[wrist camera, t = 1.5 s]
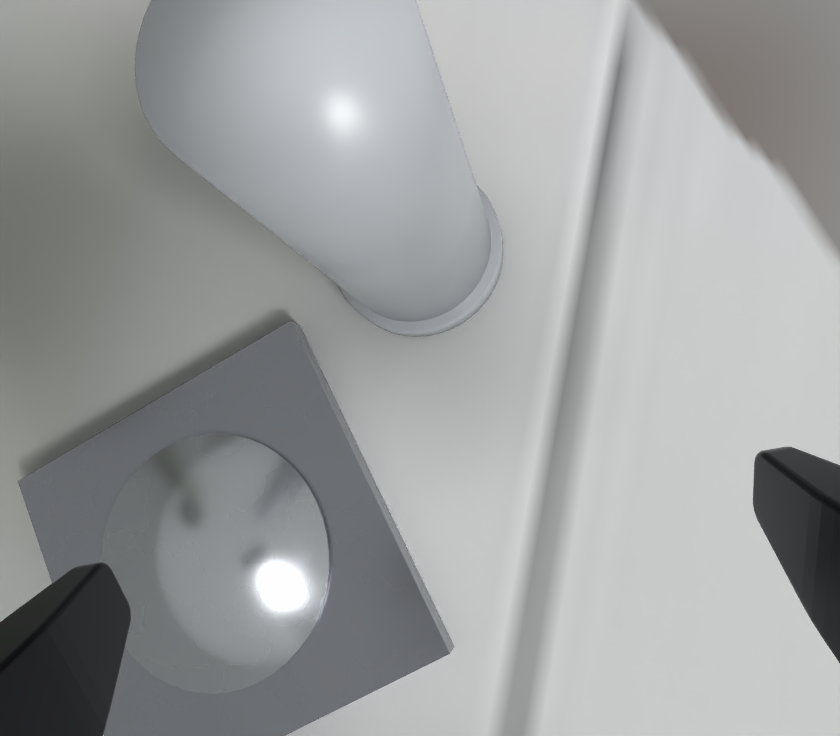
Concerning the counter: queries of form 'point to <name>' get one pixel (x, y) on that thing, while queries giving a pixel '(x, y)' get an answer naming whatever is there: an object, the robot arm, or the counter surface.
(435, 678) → the counter surface
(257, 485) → the flange plate
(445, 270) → the grey cylinder
